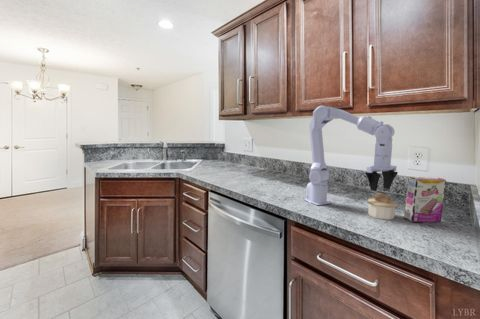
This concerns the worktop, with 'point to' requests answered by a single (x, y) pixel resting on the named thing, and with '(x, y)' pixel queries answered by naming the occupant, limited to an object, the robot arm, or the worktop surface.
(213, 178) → the worktop surface
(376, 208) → the bowl
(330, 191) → the worktop surface
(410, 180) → the candy bar box
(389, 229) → the worktop surface
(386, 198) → the lid
